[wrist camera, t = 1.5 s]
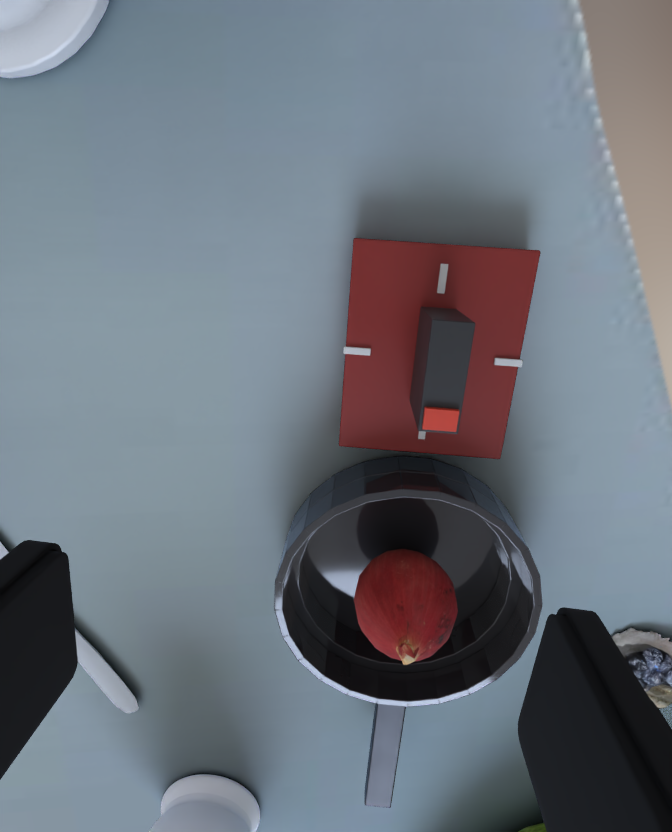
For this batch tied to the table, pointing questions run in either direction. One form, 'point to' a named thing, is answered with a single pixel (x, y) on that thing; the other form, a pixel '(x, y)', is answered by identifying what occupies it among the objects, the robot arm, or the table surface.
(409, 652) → the onion
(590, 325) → the table surface
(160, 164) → the table surface
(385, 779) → the pan handle
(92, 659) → the butter knife
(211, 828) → the jar
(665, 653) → the blue crystal geode
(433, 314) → the red-tipped grey block
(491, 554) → the pan
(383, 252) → the panel
